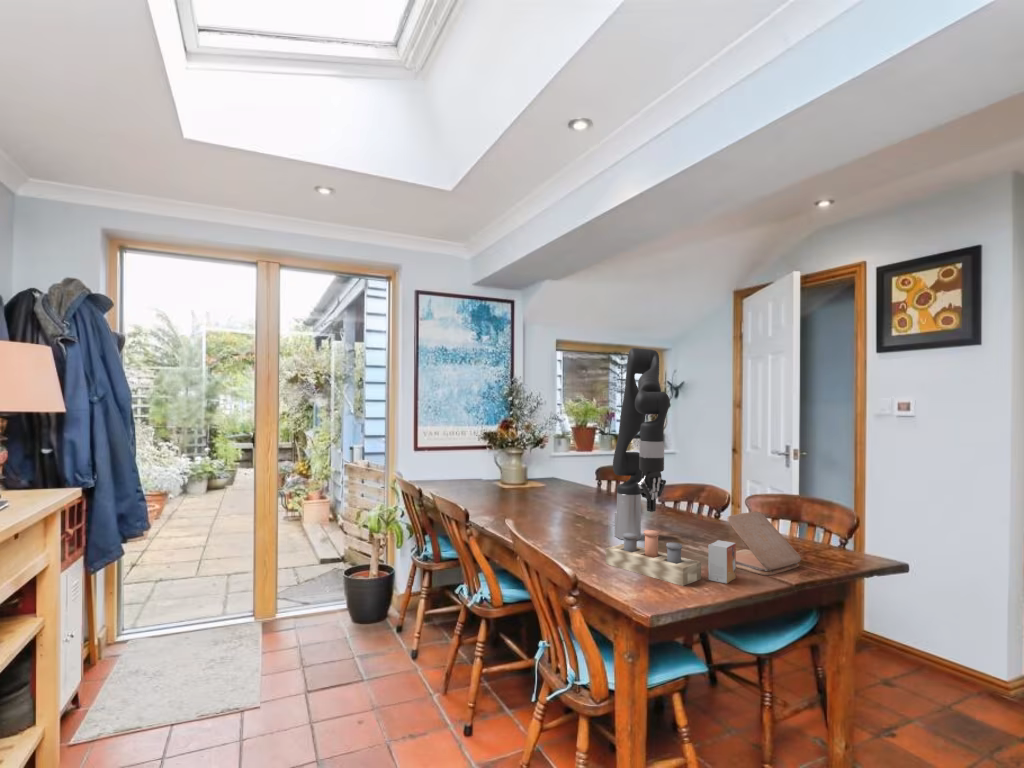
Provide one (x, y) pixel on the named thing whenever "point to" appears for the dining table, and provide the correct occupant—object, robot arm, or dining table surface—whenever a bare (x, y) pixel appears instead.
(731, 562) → the small box
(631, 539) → the plug left
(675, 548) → the plug right
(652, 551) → the plug mid
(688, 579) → the socket block
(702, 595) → the dining table surface
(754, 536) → the case
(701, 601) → the dining table surface
